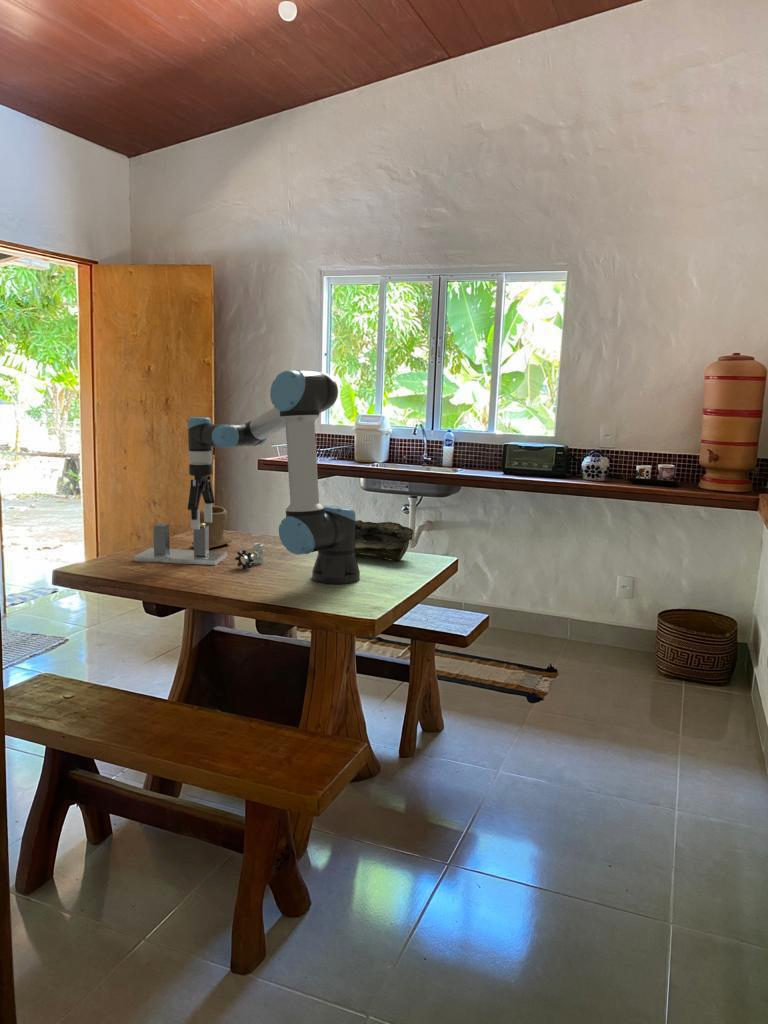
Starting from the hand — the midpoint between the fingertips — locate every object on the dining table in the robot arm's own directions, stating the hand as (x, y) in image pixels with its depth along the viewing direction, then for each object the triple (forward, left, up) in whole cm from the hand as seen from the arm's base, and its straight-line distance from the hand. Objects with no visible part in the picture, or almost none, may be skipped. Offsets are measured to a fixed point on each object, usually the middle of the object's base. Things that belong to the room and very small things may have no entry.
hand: (201, 525), depth 258 cm
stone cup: (+21, +2, -12) cm, 25 cm away
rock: (+15, -59, -12) cm, 62 cm away
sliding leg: (0, 0, -10) cm, 10 cm away
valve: (-4, -19, -12) cm, 23 cm away
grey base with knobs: (0, +7, -12) cm, 14 cm away
